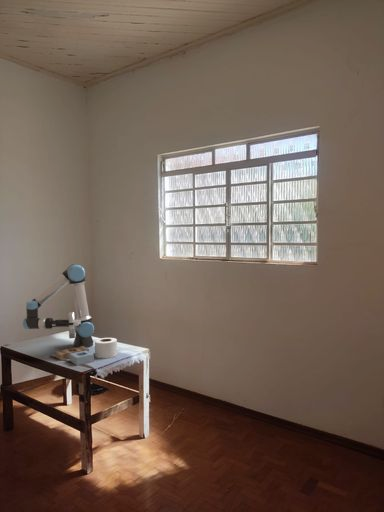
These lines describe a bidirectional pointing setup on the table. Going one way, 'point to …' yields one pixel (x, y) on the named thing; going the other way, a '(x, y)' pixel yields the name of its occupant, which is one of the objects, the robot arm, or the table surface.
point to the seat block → (81, 357)
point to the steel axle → (71, 328)
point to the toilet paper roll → (105, 347)
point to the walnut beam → (69, 352)
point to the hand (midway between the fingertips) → (79, 322)
